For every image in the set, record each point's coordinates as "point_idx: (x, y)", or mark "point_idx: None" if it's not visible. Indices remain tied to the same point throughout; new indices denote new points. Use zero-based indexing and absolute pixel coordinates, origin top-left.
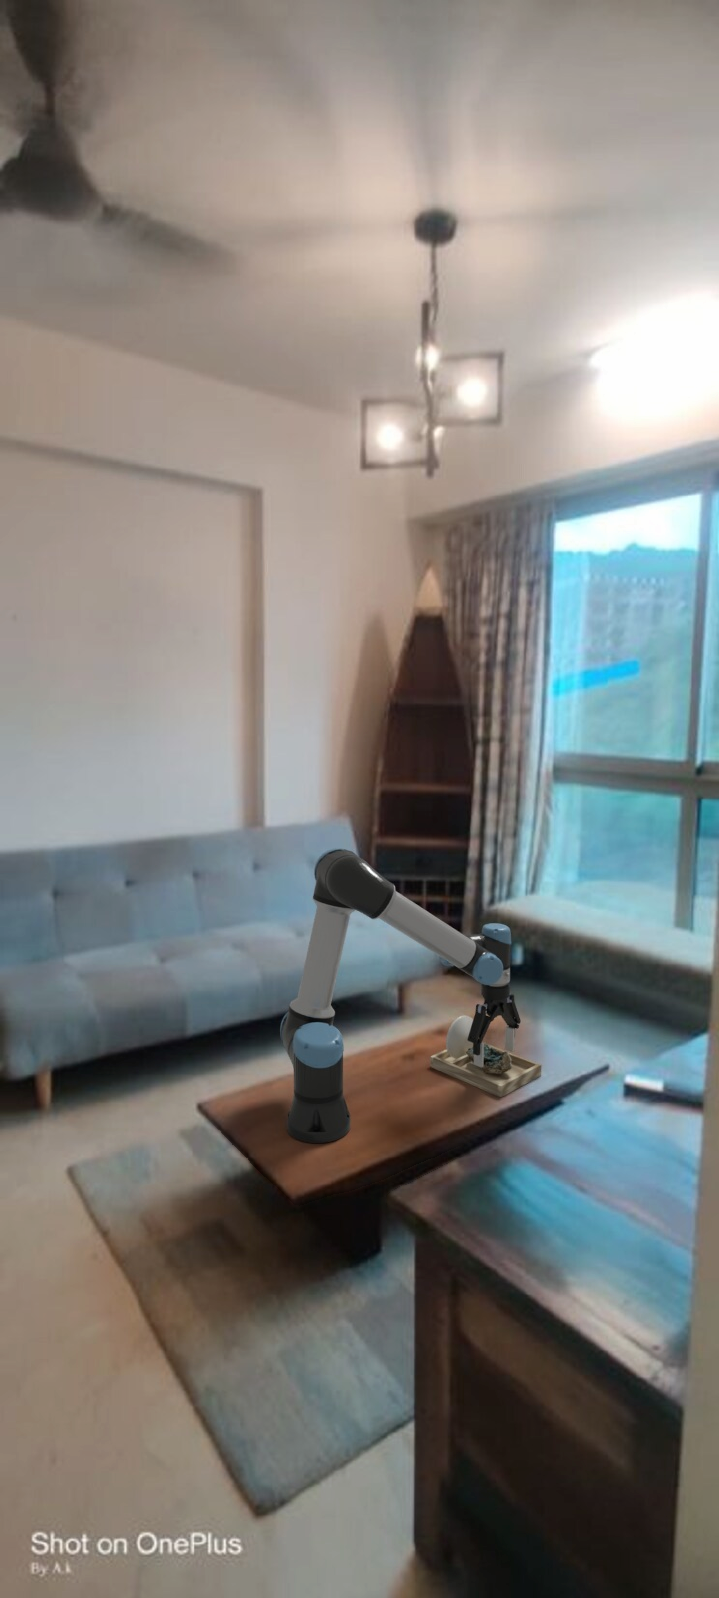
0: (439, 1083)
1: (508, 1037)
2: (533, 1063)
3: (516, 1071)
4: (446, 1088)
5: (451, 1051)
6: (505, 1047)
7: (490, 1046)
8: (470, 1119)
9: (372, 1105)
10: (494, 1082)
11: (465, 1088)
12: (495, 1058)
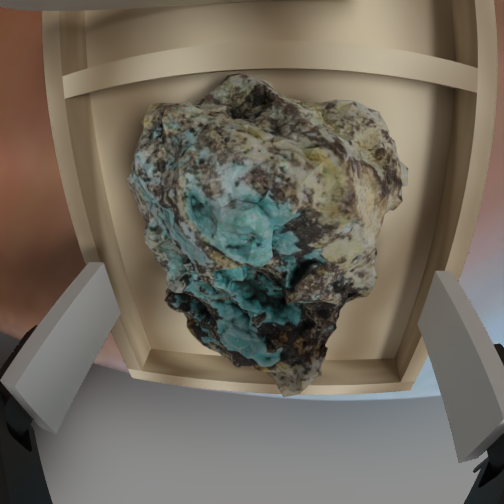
0: (19, 135)
1: (457, 371)
2: (405, 373)
3: (348, 316)
4: (21, 183)
5: (107, 4)
6: (439, 286)
7: (344, 244)
8: (25, 333)
9: None
10: (127, 355)
11: (74, 230)
12: (229, 335)
